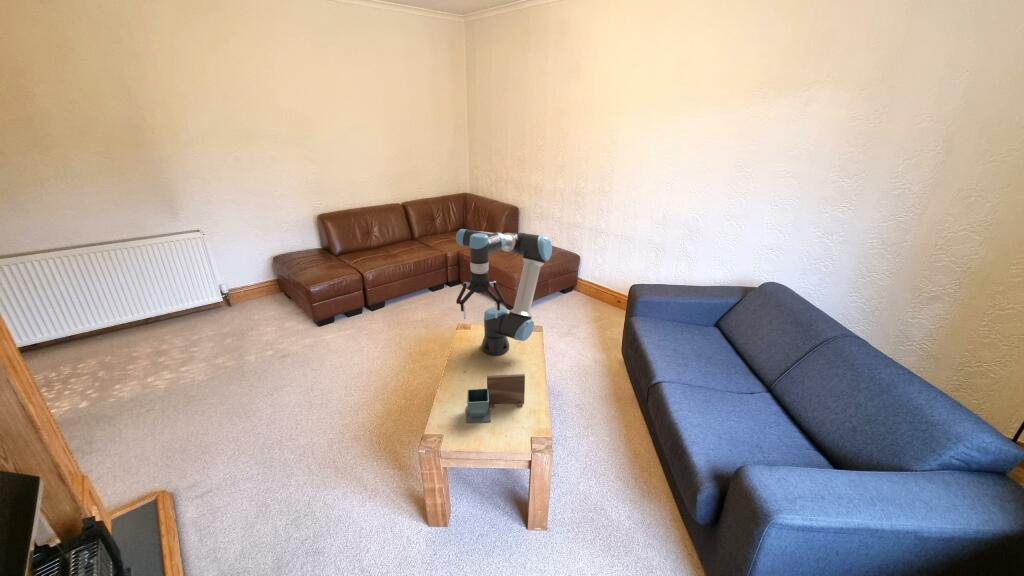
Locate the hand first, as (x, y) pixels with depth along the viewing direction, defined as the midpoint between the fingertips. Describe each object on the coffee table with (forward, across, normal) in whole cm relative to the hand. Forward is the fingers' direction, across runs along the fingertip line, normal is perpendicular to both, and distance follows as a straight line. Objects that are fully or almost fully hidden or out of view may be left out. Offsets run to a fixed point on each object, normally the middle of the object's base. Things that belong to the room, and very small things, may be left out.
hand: (480, 317), depth 172 cm
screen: (+35, +10, -14) cm, 39 cm away
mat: (+35, -2, -21) cm, 41 cm away
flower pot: (+34, -2, -21) cm, 40 cm away
